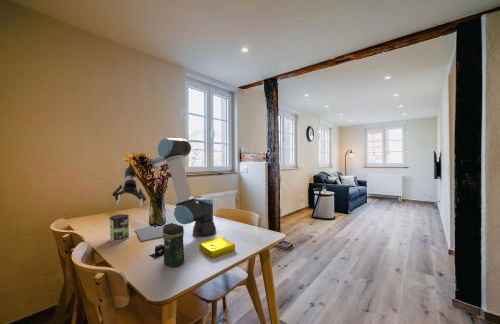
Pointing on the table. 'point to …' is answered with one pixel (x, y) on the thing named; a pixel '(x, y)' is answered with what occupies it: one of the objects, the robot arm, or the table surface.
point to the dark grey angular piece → (160, 253)
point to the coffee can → (119, 227)
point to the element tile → (216, 247)
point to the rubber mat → (150, 233)
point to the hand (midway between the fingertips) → (129, 205)
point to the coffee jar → (173, 245)
